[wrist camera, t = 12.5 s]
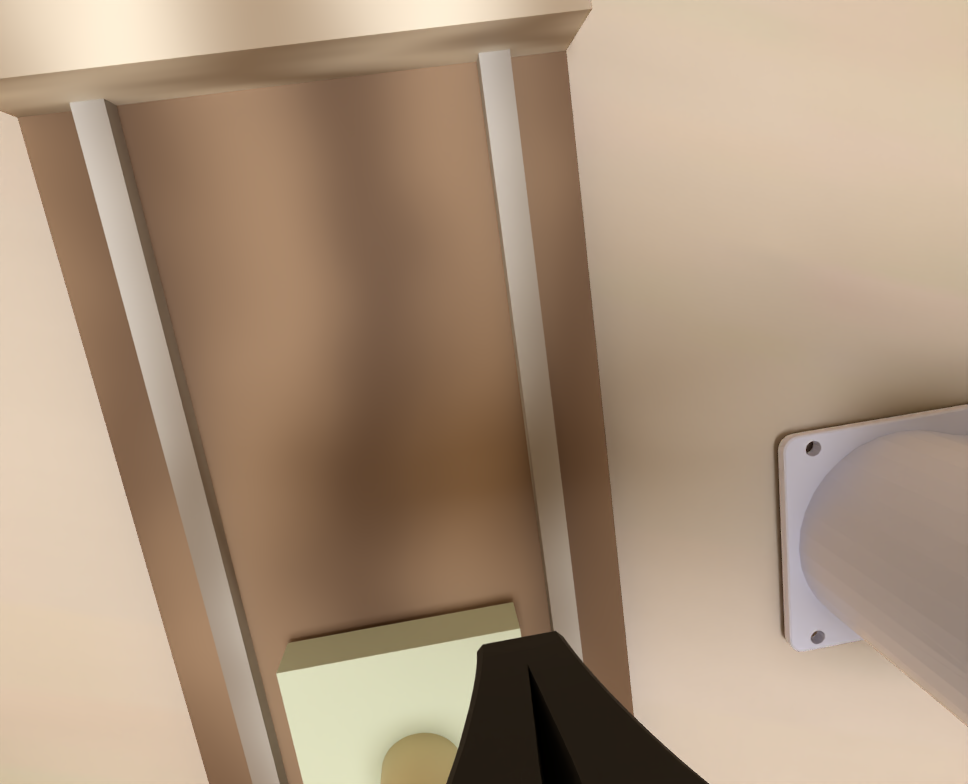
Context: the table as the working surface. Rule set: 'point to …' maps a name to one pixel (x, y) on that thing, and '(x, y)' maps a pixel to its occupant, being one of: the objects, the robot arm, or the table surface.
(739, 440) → the table surface
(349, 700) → the carriage
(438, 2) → the rail
